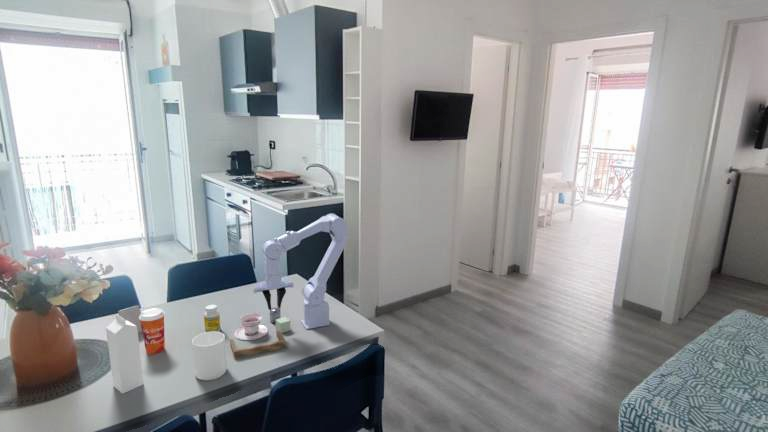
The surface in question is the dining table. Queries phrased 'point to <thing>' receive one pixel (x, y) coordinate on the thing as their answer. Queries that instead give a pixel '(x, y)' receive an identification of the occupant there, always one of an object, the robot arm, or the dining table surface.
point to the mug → (209, 355)
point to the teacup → (251, 327)
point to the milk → (124, 355)
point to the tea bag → (132, 316)
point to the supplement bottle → (212, 318)
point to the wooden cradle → (258, 347)
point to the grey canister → (274, 315)
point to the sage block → (282, 324)
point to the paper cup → (153, 330)
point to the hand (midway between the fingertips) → (274, 307)
